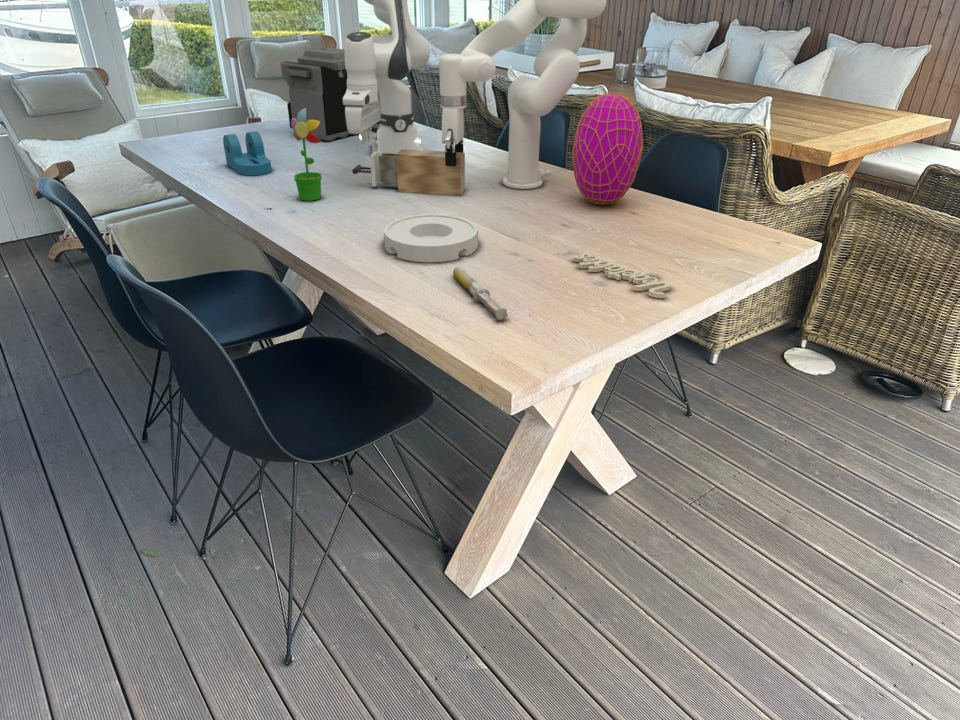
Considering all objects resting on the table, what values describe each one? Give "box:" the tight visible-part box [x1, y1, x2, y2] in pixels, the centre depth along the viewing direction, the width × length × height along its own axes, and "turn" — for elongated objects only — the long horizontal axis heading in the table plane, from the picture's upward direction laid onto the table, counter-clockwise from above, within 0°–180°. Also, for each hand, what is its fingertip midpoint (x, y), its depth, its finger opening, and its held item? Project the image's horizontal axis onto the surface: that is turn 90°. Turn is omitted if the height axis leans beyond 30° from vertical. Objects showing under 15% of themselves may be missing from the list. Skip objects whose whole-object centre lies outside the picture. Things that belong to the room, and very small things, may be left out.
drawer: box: [351, 151, 398, 187], centre depth 209 cm, size 25×5×9 cm, turn 79°
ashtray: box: [383, 213, 479, 263], centre depth 170 cm, size 23×23×4 cm
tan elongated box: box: [396, 149, 466, 196], centre depth 208 cm, size 20×6×11 cm, turn 79°
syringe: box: [452, 266, 509, 321], centre depth 145 cm, size 25×4×3 cm, turn 21°
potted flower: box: [291, 108, 323, 202], centre depth 196 cm, size 9×8×25 cm
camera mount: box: [222, 131, 272, 176], centre depth 226 cm, size 18×10×10 cm, turn 35°
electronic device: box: [279, 47, 380, 142], centre depth 271 cm, size 37×22×30 cm, turn 144°
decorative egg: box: [571, 92, 644, 205], centre depth 194 cm, size 19×19×30 cm
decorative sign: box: [574, 252, 671, 299], centre depth 155 cm, size 26×1×10 cm
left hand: (366, 142), depth 207 cm, fingers closed
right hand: (454, 161), depth 205 cm, fingers open, 9 cm apart
